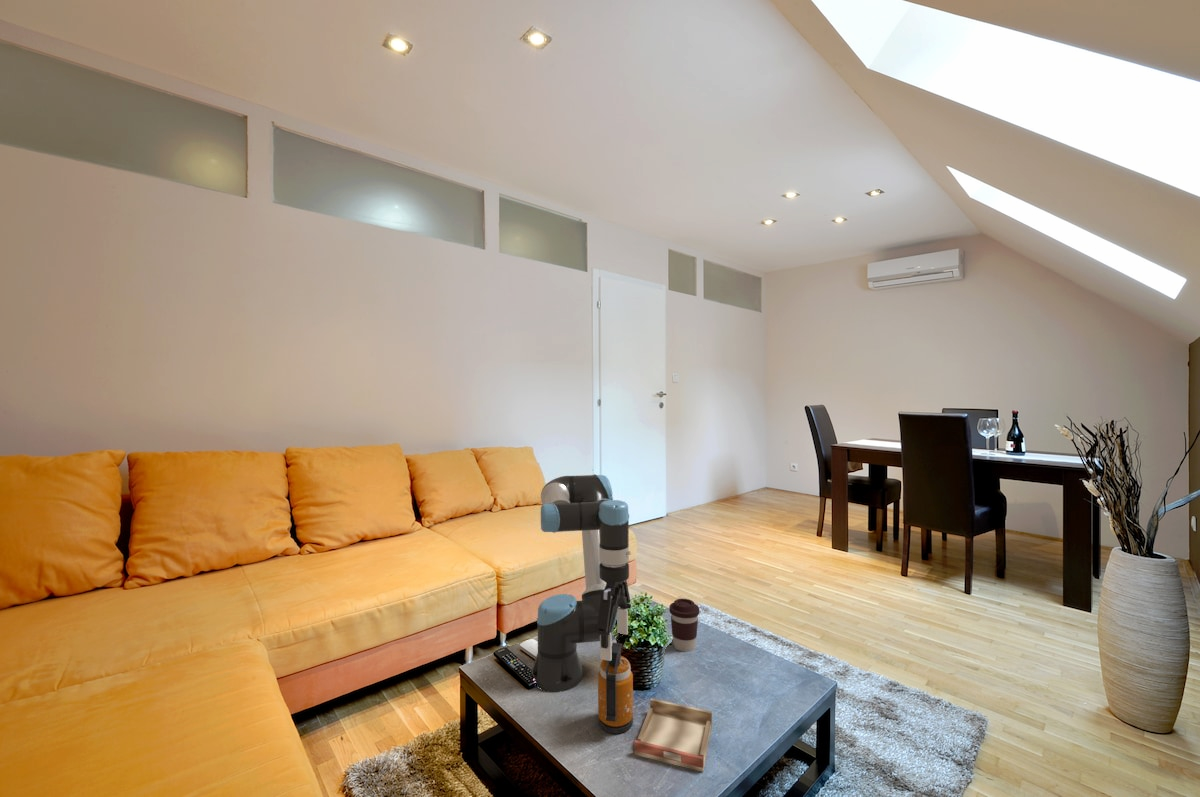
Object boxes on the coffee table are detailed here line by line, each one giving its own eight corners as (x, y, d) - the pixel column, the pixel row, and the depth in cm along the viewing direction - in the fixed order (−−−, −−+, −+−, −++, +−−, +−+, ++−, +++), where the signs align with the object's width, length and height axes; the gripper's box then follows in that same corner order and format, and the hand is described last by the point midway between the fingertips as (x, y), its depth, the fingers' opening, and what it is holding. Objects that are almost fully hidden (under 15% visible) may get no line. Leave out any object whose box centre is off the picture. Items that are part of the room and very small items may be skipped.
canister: (635, 714, 128) (635, 639, 128) (628, 744, 117) (628, 662, 117) (602, 709, 130) (602, 636, 130) (592, 738, 119) (592, 658, 119)
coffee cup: (701, 642, 165) (701, 598, 165) (696, 657, 156) (696, 611, 155) (673, 637, 168) (672, 594, 168) (666, 651, 159) (666, 606, 159)
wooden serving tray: (634, 755, 113) (634, 739, 113) (650, 713, 129) (650, 698, 129) (703, 773, 108) (703, 756, 108) (712, 726, 123) (711, 711, 123)
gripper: (612, 582, 110) (613, 675, 110) (641, 549, 134) (641, 626, 134) (582, 578, 113) (582, 668, 113) (615, 546, 136) (615, 621, 136)
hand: (614, 645), depth 123 cm, fingers open, 13 cm apart
